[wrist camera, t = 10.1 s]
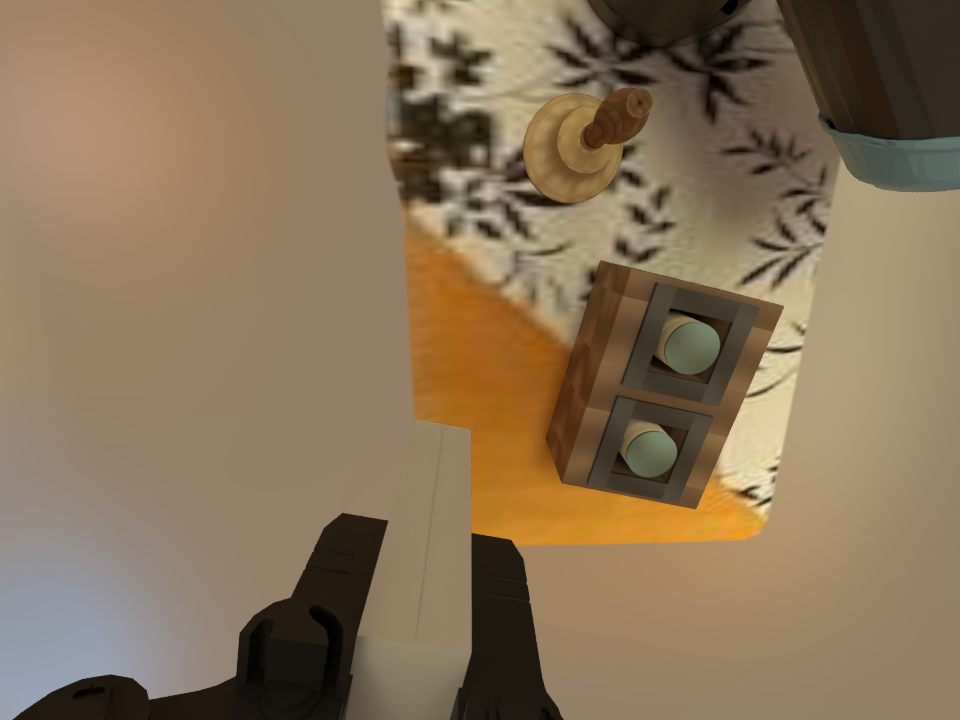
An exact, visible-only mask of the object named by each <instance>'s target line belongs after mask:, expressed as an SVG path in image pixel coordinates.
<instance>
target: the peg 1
mask: <svg viewBox="0 0 960 720" xmlns="http://www.w3.org/2000/svg"><path fill="white" fill-rule="evenodd" d="M619 452H620V454H621V455H622V457H623V458H624V460H625V461H626V463H627V464H628V466H629V467H630V469H631V470H632V471H633V472H634V473H636V474H637V475H640V476H643V477H655V476H658V475H661V474H663V473H665V472H666V471H667V470H669V469H670V468H671V466H672V465H673V464H674V462H675V460H676V456H677V448H676V445H675V443H674V441H673V440H672V439H671V438H670V437H669V436H668V434H667V433H666V432H665V431H664V430H663V429H662V428H661V427H660V426H659V425H658V424H655V423H651V422H646V421H641V420H637V419H632V418H630V420H629V423H628V426H627V429H626V431H625V434H624V437H623V440H622V442H621V445H620V448H619Z"/></svg>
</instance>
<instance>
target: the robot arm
mask: <svg viewBox="0 0 960 720" xmlns="http://www.w3.org/2000/svg"><path fill="white" fill-rule="evenodd" d="M751 1H752V0H589V2H590V4H591V5H592V7H593V8H594V10H595V11H596V13H597V14H598V15H599V16H600V18H601V19H602V20H603V21H604V22H605V23H606V24H607V25H608V26H609V27H610V28H612V29H613V30H614V31H615V32H617V33H618V34H620V35H621V36H623V37H625V38H626V39H628V40H631V41H633V42H635V43H638V44H641V45H645V46H650V47H660V48H667V47H677V46H682V45H686V44H690V43H693V42H695V41H698V40H700V39H702V38H704V37H706V36H708V35H710V34H712V33H713V32H715V31H716V30H718V29H719V28H720V27H722V26H723V25H724V24H726V23H727V22H728V21H729V20H731V19H732V18H733V17H734V16H736V15H737V14H738V13H739V12H741V11H742V10H743V9H744V8H745V7H746V6H747V5H748V4H749V3H750V2H751ZM777 3H778V5H779V8H780V10H781V13H782V15H783V18H784V21H785V23H786V26H787V28H788V31H789V33H790V36H791V39H792V41H793V44H794V46H795V49H796V51H797V54H798V57H799V59H800V62H801V64H802V67H803V69H804V72H805V74H806V77H807V80H808V82H809V85H810V87H811V90H812V92H813V95H814V98H815V100H816V103H817V105H818V108H819V110H820V113H819V116H818V118H819V121H820V124H821V126H822V128H823V129H824V130H825V131H826V132H827V133H828V134H830V135H831V136H832V138H833V140H834V142H835V144H836V146H837V148H838V150H839V152H840V154H841V157H842V159H843V161H844V163H845V165H846V167H847V169H848V170H849V171H850V173H851V174H852V175H853V176H854V177H856V178H857V179H858V180H859V181H862V182H865V183H868V184H872V185H874V186H875V187H877V188H880V189H884V190H891V191H899V192H935V191H946V190H954V189H955V190H956V189H960V0H777ZM526 583H527V579H526V572H525V566H524V560H523V558H522V556H521V555H520V553H519V552H518V550H517V548H516V547H515V545H514V544H513V542H512V541H511V540H509V539H503V538H497V537H491V536H485V535H479V534H474V533H471V429H466V428H461V427H456V426H450V425H445V424H440V423H434V422H429V421H424V420H419V419H416V423H415V426H414V430H413V434H412V437H411V441H410V445H409V448H408V452H407V455H406V459H405V463H404V466H403V470H402V474H401V477H400V481H399V485H398V489H397V492H396V495H395V499H394V503H393V507H392V510H391V514H390V518H389V521H387V520H381V519H375V518H369V517H363V516H357V515H351V514H345V513H342V514H341V515H339V516H338V517H337V518H336V519H334V520H333V521H332V522H331V523H330V524H328V525H327V526H326V527H325V528H324V529H323V532H322V533H321V536H320V538H319V540H318V542H317V544H316V546H315V548H314V552H312V554H311V556H310V558H309V560H308V563H307V565H306V569H305V570H304V571H303V573H302V575H301V577H300V579H299V581H298V583H297V585H296V588H295V590H294V592H293V594H292V596H291V598H288V599H285V600H281V601H278V602H275V603H272V604H271V605H269V606H268V607H266V608H265V609H263V610H262V611H260V612H259V613H257V614H256V615H254V616H253V617H252V619H251V620H250V621H249V622H248V623H247V625H246V626H245V627H244V628H243V630H242V631H241V632H240V636H239V648H238V660H237V673H236V676H235V677H234V678H231V679H229V680H227V681H225V682H223V683H221V684H219V685H217V686H213V687H210V688H206V689H203V690H199V691H195V692H189V693H184V694H178V695H173V696H168V697H162V698H157V699H151V700H149V698H148V694H147V690H146V689H144V688H143V687H142V686H141V685H140V684H138V683H137V682H136V681H135V680H134V679H132V678H127V677H122V676H116V675H111V674H110V675H104V676H98V677H92V678H86V679H81V680H79V681H77V682H74V683H72V684H69V685H67V686H65V687H62V688H60V689H58V690H55V691H53V692H51V693H49V694H48V695H46V696H45V697H44V698H42V699H41V700H39V701H38V702H36V703H35V704H33V705H32V706H30V707H29V708H27V709H26V710H24V711H23V712H21V713H20V714H19V715H18V716H17V717H15V718H14V719H13V720H564V719H563V718H562V717H561V715H560V712H559V709H558V707H557V706H556V704H555V703H554V702H553V700H552V699H551V697H550V696H549V695H548V693H547V692H546V690H545V686H544V682H543V679H542V673H541V667H540V661H539V654H538V648H537V642H536V635H535V629H534V623H533V616H532V610H531V604H530V603H529V599H530V597H529V591H528V586H527V585H526Z"/></svg>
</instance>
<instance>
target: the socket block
mask: <svg viewBox="0 0 960 720" xmlns="http://www.w3.org/2000/svg"><path fill="white" fill-rule="evenodd" d="M670 308H674V309H678V310H679V312H678V313H681V314H683V315H686V316H688V317H690V318H693V319H695V320H697V321H700V322H702V323H704V324H707V325H709V326H710V327H712V328H713V329H714V330H715V331H716V333H717V334H718V337H719V340H720V349H719V353H718V356H717V358H716V359H715V361H714V362H713V363H712V365H711V366H710V367H708V368H707V369H706V370H704V371H702V372H700V373H697V374H691V375H687V374H682V373H679V372H677V371H675V370H674V369H672V368H671V367H670V366H668V365H667V364H665V363H664V362H663V361H661V360H660V359H658V358H657V357H656V356H654V355H653V354H654V351H655V348H656V345H657V343H658V340H659V337H660V334H661V332H662V329H663V326H664V323H665V320H666V318H667V315H668V312H669V309H670ZM783 308H784V306H782V305H778V304H774V303H770V302H766V301H763V300H759V299H755V298H751V297H747V296H743V295H740V294H736V293H732V292H728V291H724V290H720V289H716V288H712V287H708V286H704V285H700V284H695V283H691V282H687V281H683V280H679V279H675V278H671V277H667V276H663V275H659V274H655V273H650V272H646V271H642V270H638V269H634V268H630V267H626V266H622V265H618V264H614V263H610V262H605V261H601V260H600V264H599V267H598V270H597V274H596V277H595V280H594V283H593V287H592V290H591V293H590V296H589V300H588V303H587V306H586V309H585V313H584V316H583V319H582V323H581V326H580V329H579V332H578V336H577V339H576V342H575V345H574V349H573V352H572V355H571V359H570V362H569V365H568V368H567V372H566V375H565V378H564V381H563V385H562V388H561V391H560V394H559V398H558V401H557V404H556V408H555V411H554V414H553V417H552V421H551V424H550V427H549V430H548V434H547V437H546V440H547V443H548V446H549V449H550V451H551V454H552V457H553V460H554V463H555V465H556V468H557V471H558V474H559V477H560V480H561V482H562V483H564V484H569V485H574V486H579V487H585V488H590V489H595V490H600V491H605V492H610V493H615V494H620V495H625V496H630V497H635V498H640V499H646V500H651V501H656V502H661V503H666V504H671V505H676V506H681V507H686V508H691V509H696V508H697V506H698V504H699V501H700V499H701V497H702V494H703V492H704V490H705V487H706V485H707V483H708V481H709V478H710V476H711V474H712V471H713V469H714V467H715V464H716V462H717V460H718V458H719V455H720V453H721V451H722V448H723V446H724V444H725V441H726V439H727V437H728V435H729V432H730V430H731V428H732V425H733V423H734V421H735V418H736V416H737V414H738V412H739V409H740V407H741V405H742V402H743V400H744V398H745V395H746V393H747V391H748V389H749V386H750V384H751V382H752V379H753V377H754V375H755V372H756V370H757V368H758V366H759V363H760V361H761V359H762V356H763V354H764V352H765V349H766V347H767V345H768V343H769V340H770V338H771V336H772V333H773V331H774V329H775V326H776V324H777V322H778V320H779V317H780V315H781V313H782V310H783ZM630 418H632V419H637V420H641V421H646V422H651V423H655V424H658V425H659V426H660V427H661V428H662V429H663V430H664V431H665V432H666V433H667V434H668V436H669V437H670V438H671V439H672V440H673V441H674V443H675V445H676V448H677V456H676V460H675V462H674V464H673V465H672V466H671V468H670V469H669V470H667V471H666V472H665V473H663V474H661V475H658V476H655V477H643V476H640V475H637V474H636V473H634V472H633V471H632V470H631V469H630V467H629V466H628V464H627V463H626V461H625V460H624V458H623V457H622V455H621V454H620V452H619V448H620V445H621V442H622V440H623V437H624V434H625V431H626V429H627V426H628V423H629V420H630Z"/></svg>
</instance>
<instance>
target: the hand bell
mask: <svg viewBox="0 0 960 720" xmlns="http://www.w3.org/2000/svg"><path fill="white" fill-rule="evenodd" d="M651 107H652V98H651V96H650V94H649V92H648V91H646V90H644V89H635V88H623V89H620V90H617V91H615V92H613V93H612V94H611V95H610V96H608V97H607V98H606V99H605V100H604V101H603V102H601V101H600V100H599V99H597V98H594V97H592V96H590V95H585V94H575V93H573V94H566V95H562V96H560V97H557V98H555V99H553V100H551V101H550V102H548V103H547V104H545V105H544V106H543V107H542V108H541V109H540V110H539V111H538V112H537V113H536V115H535V116H534V117H533V119H532V121H531V122H530V124H529V126H528V129H527V132H526V135H525V138H524V145H523V160H524V165H525V169H526V172H527V174H528V176H529V178H530V180H531V182H532V183H533V185H534V186H535V187H536V188H537V189H538V190H539V191H540V192H541V193H542V194H543V195H545V196H546V197H548V198H549V199H552V200H555V201H558V202H562V203H578V202H583V201H586V200H588V199H591V198H592V197H594V196H596V195H597V194H599V193H600V192H601V191H603V190H604V189H605V188H606V187H607V186H608V185H609V183H610V182H611V181H612V179H613V178H614V176H615V174H616V172H617V170H618V168H619V166H620V162H621V158H622V153H623V142H626V141H628V140H630V139H631V138H633V137H634V136H635V135H637V134H638V133H639V132H640V131H641V129H642V128H643V127H644V125H645V123H646V121H647V118H648V115H649V111H650V109H651Z"/></svg>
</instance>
